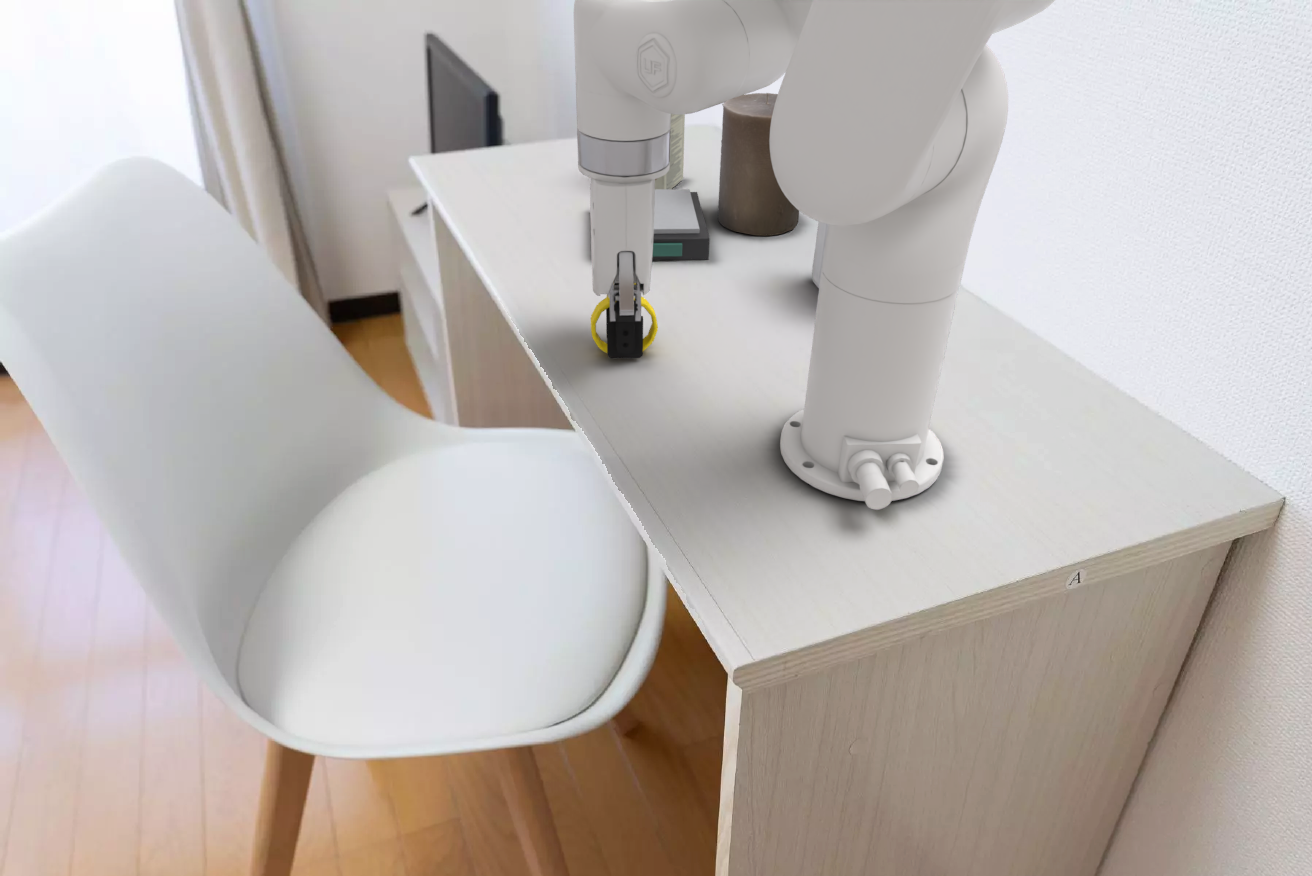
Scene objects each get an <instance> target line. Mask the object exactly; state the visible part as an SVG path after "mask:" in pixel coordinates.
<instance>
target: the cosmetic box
mask: <svg viewBox="0 0 1312 876" xmlns="http://www.w3.org/2000/svg"><path fill="white" fill-rule="evenodd" d="M685 118H686V114H685V115H676V114H671V126H670V168H669V171H668V172H667V173H666V174H665V175H664V176H662V177H660V178H657V179H655V189H674V187H675V186H677V185H678V184H680V182H682V181H683V180H684V167H685V166H684V164H685V163H684V161H685V158H684V157H685V126H686V125H685V124H686V122H685V121H686V119H685Z"/></svg>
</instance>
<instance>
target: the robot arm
mask: <svg viewBox="0 0 1312 876" xmlns="http://www.w3.org/2000/svg"><path fill="white" fill-rule="evenodd" d="M1054 2H1056V0H574V3H573V37H574V38H573V39H574V40H573V41H574V70H575V73H574V74H575V101H576V102H575V104H576V105H575V106H576V108H575V109H576V135H577V136H576V139H577V141H576V142H577V168H578V169H577V170H578V171H579V172H580V174H582V175H583V176H585V177H587V178H590V185H589V186H590V187H589V188H590V189H589V190H590V191H589V194H590V195H589V217H590V255H591V256H590V259H591V277H592V278H591V281H592V282H591V283H592V292H593V293H594V294H595V295H596V296H597V297H601V295H607V294H608V292H609V304H610V307H609V308H607V309H606V310H605V321H606V322H605V323H606V325H605V326H606V329H605V330H606V343H607V353H606V354H607V358H609V359H640V358H642V357H643V356H644V355H643V354H644V351H643V338H644V316H643V315H642V306H641V297H642V296H646V295H647V294H648V293H649V291H650V290H651V282H652V270H653V269H652V267H653V260H652V255H653V236H654V205H655V179H657V178H660V177H662V176H664V175H665V174H666V173H667V172H668V171H669V168H670V126H671V114H676V115H685V116H686V115H690V114H694V113H698V112H701V111H704V110H706V109H710V108H712V107H716V106H718V105H722V104H723V103H724V102H726V101H727V100H730V99H733V98H735V97H738V96H741V95H745V94H751V93H753V92H756V91H759V90H762V89H765V88H767V87H769V86H771V85H772V84H773V83H775V82H776V81H778V80H779V79H780V78H781V77H783V78H782V80H781V84H780V87H779V89H778V93H777V94H778V96H777V99H776V102H775V106H774V110H773V115H772V119H771V126H770V139H769V142H770V156H771V162H772V167H773V171H774V174H775V177H776V179H777V182H778V184H779V186H780V188H781V190H782V192H783V193H784V195H785V196H786V198H787V199H788V200H789V201H790V202H791V203H792V205H794V206H795V207H796V208H797V209H798V210H799V213H801V214H802V215H804V216H806V217H808V218H809V219H812V220H813V221H816V222H818V221H819V222H822V223H826V224H829V227H828V232H827V237H826V243H825V249H824V257H823V265H822V270H821V278H820V286H819V288H818V295H817V302H816V310H815V318H814V326H813V333H812V334H813V335H812V342H811V352H810V359H809V368H808V375H807V384H806V391H805V399H804V407H803V408H802V409H800V410H798V411H797V412H795V413H794V414H793V415H791V416H790V417H789V418H788V419H787V421H785V423H784V425H783V428H782V430H781V432H780V441H779V448H780V455H781V457H782V459H783V462H784V463H785V464H786V466H787V467H788V468H789V469H790V471H791V472H792V473H793V474H794V475H796V476H797V477H798V478H799V479H800V480H801V481H803V482H805V483H806V484H809V485H810V486H811V487H813V488H814V489H817V490H818V491H822V492H824V493H826V494H829V495H832V496H835V497H839V498H843V499H847V500H852V501H856V502H857V501H858V502H864V503H865V505H866V506H867V508H869V509H871V510H876V511H878V510H882V509H885V508H887V507H888V506H889V505H890V504H892V503H891V502H892V501H893V502H894V501H898V500H903V499H908V498H910V497H914V496H916V495H919V494H920V493H922V492H924V491H926V490H927V489H929V488H930V487H931V486H932V485H933V484H934V483H935V482H936V481H937V480H938V478H939V476H940V474H941V473H942V469H943V464H944V460H945V456H944V448H943V446H942V443H941V440H940V439H939V438H938V436H937V435H936V433H935V432H934V431H933V430H932V429H930V425H931V420H932V416H933V411H934V407H935V402H936V398H937V393H938V388H939V385H940V384H939V383H940V379H941V375H942V370H943V365H944V361H945V357H946V352H947V350H946V349H947V346H948V343H949V337H950V333H951V327H952V323H953V320H954V319H953V318H954V314H955V310H956V304H957V300H958V295H959V291H960V287H961V284H962V279H963V275H964V270H965V265H966V261H967V257H968V252H969V249H970V244H971V241H972V240H971V239H972V236H973V232H974V228H975V225H976V222H977V217H978V214H979V211H980V208H981V204H982V202H983V198H984V195H985V193H986V190H987V188H988V184H989V182H990V179H991V176H992V173H993V170H994V167H995V165H996V162H997V159H998V155H999V153H1000V150H1001V148H1002V143H1003V139H1004V136H1005V131H1006V129H1007V128H1006V127H1007V122H1008V115H1009V90H1008V82H1007V80H1006V75H1005V72H1004V70H1003V69H1004V68H1003V67H1002V65H1001V62H1000V61H999V59H998V57H997V55H996V54H995V52H994V51H993V50H992V49H991V48H990V46H988V44H987V43H988V42H989V40H990V38H991V37H992V35H993V34H994V35H995V34H996V33H999V32H1002V31H1005V30H1006V29H1009V28H1012V27H1014V26H1016V25H1018V24H1021V23H1023V22H1025V21H1027V20H1028V19H1030V18H1033V17H1034V16H1036V15H1038V14H1040V13H1042V12H1044V11H1045V10H1046V9H1048V8H1049V7H1050V6H1051V5H1052V4H1054ZM615 296H619V300H615ZM634 296H635V300H634Z"/></svg>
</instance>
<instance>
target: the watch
mask: <svg viewBox="0 0 1312 876" xmlns="http://www.w3.org/2000/svg"><path fill="white" fill-rule="evenodd" d="M615 300H619V296H615ZM634 300H635V296H634ZM609 307H610V304H609V292H608V294H606V297H605V298H603V299H601V301H599V302H598V303H597V304H596V306H595V307H594V309H593V311H592V314H591V315H590V332H591V337H592V339H593V341H594V343H595V344H596V346H597V348H598V349H599V350H600V351H602V352H604V353H606V354H607V341H604V340H602V339H601V337H600V334H599V333H598V332H597V322H598V321H599V318H600V317H601V315H602V313H603V312H605V311H606V309H607V308H609ZM641 308H644V309H645V311H646V312H647V313H648V314H649V315H650V319H651V325H650V328H649V329H648V332H647V335H645V336H643V352H645V351H646V350H647V349H648V348H649V347H650V346H651V345H652V344H653V343H654V341H655V339H656V336H657V333H658V331H659V329H658V328H659V326H658V321H657V314H656V311H655V309H654V307H653V306H652V305H651V303H650V302H649V301H648V300H647V299H646V298H645V297H644V296H641Z"/></svg>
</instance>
